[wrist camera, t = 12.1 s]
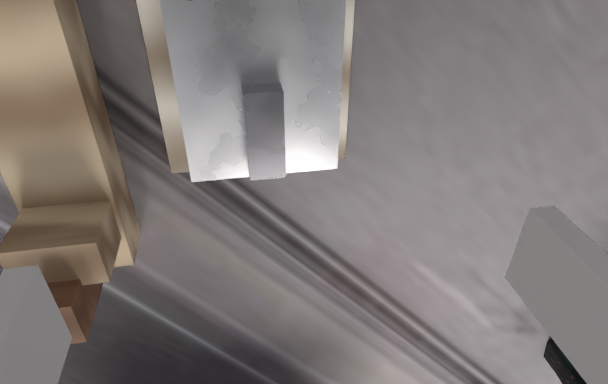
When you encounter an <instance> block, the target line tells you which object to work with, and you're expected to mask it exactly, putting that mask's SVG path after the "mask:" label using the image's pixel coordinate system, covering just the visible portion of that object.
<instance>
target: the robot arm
mask: <svg viewBox="0 0 608 384" xmlns="http://www.w3.org/2000/svg"><path fill="white" fill-rule="evenodd" d="M505 278H506V279H507V281H508V282H509V283H510V284H511V286H512V287H513V288H514V290H515V291H516V292H517V294H518V295H519V296H520V297H521V299H522V300H523V301H524V303H525V304H526V305H527V307H528V308H529V309H530V310H531V312H532V313H533V314H534V316H535V317H536V318H537V320H538V321H539V322H540V323H541V325H542V326H543V327H544V329H545V330H546V331H547V333H548V334H549V335H550V336H551V338H552V339H553V340H554V342H555V343H556V344H557V346H558V347H559V348H560V349H561V351H562V352H563V353H564V355H565V356H566V357H567V359H568V360H569V361H570V362H571V364H572V365H573V366H574V368H575V369H576V370H577V372H578V373H579V374H580V375H581V377H582V378H583V379H584V381H585V382H586V383H587V384H608V254H607V253H606V252H605V251H604V250H603V249H601V248H600V247H599V246H598V245H597V244H596V243H595V242H594V241H593V240H592V239H590V238H589V237H588V236H587V235H586V234H585V233H584V232H583V231H582V230H580V229H579V228H578V227H577V226H576V225H575V224H574V223H573V222H572V221H571V220H569V219H568V218H567V217H566V216H565V215H564V214H563V213H562V212H561V211H559V210H558V209H557V208H556V207H555V206H547V207H538V208H530V210H529V212H528V215H527V218H526V221H525V223H524V226H523V229H522V232H521V234H520V237H519V240H518V243H517V246H516V248H515V251H514V254H513V257H512V259H511V262H510V265H509V268H508V270H507V273H506V276H505ZM71 340H72V336H71V334H70V332H69V329H68V327H67V325H66V323H65V321H64V319H63V317H62V315H61V313H60V310H59V308H58V306H57V304H56V302H55V300H54V298H53V296H52V293H51V291H50V289H49V287H48V285H47V283H46V281H45V279H44V277H43V274H42V272H41V270H40V268H39V266H38V265H35V266H26V267H17V268H9V269H4V270H3V272H2V273H1V275H0V384H58V382H59V378H60V375H61V372H62V369H63V366H64V362H65V359H66V356H67V353H68V350H69V346H70V343H71Z"/></svg>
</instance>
